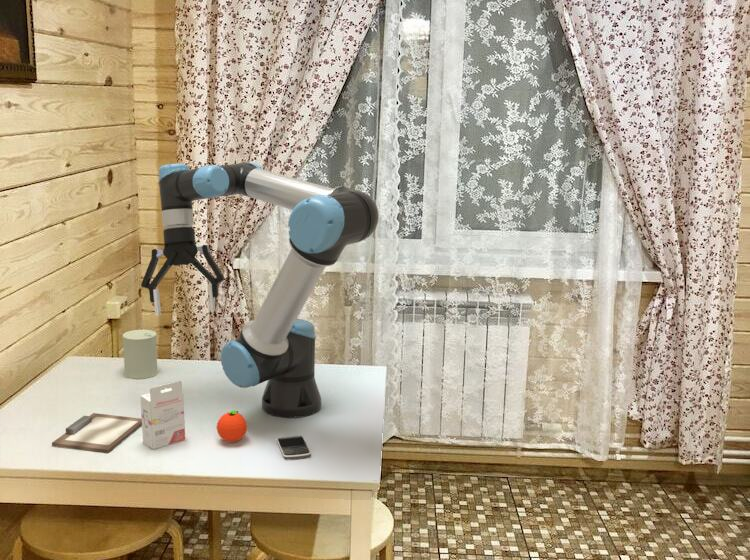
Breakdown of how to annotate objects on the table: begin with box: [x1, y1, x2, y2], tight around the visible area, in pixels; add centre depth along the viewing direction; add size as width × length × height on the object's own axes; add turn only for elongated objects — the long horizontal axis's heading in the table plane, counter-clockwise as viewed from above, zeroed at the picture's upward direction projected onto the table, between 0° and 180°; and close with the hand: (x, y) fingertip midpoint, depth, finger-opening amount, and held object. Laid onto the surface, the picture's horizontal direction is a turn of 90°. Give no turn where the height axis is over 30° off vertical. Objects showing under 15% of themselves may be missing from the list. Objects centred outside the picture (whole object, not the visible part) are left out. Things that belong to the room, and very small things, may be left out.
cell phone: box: [276, 435, 311, 460], centre depth 198 cm, size 6×11×1 cm, turn 16°
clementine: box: [216, 410, 248, 443], centre depth 201 cm, size 8×7×7 cm
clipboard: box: [51, 412, 142, 454], centre depth 203 cm, size 14×18×2 cm
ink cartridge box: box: [140, 380, 186, 450], centre depth 198 cm, size 9×5×15 cm, turn 132°
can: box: [122, 329, 159, 380], centre depth 242 cm, size 9×9×12 cm
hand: (185, 313), depth 214 cm, fingers open, 13 cm apart
